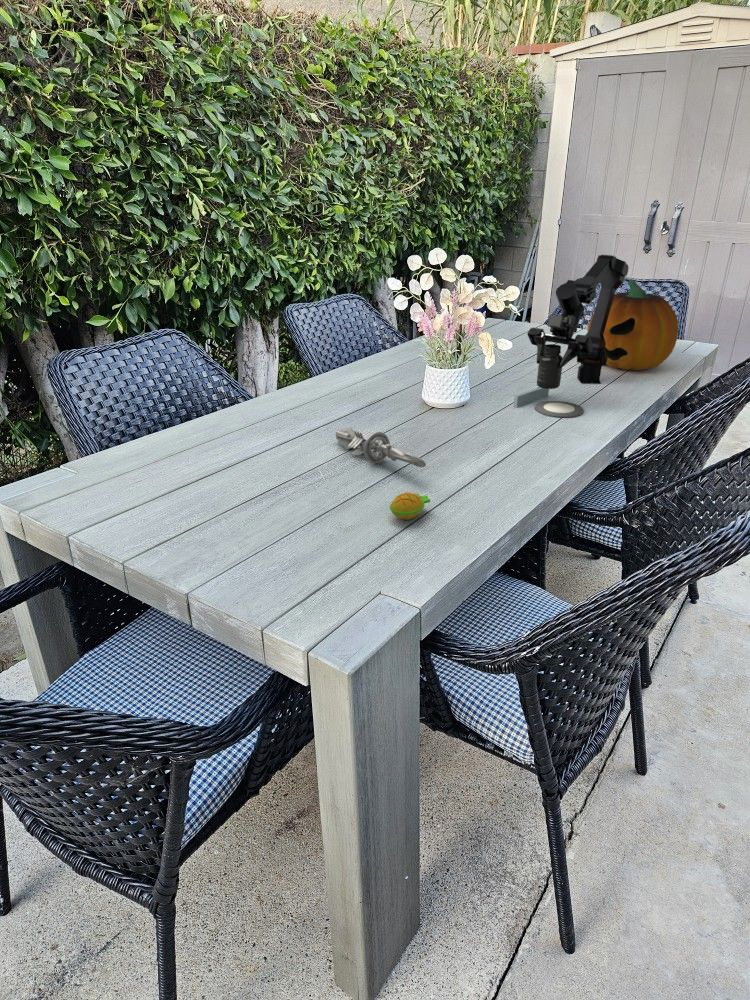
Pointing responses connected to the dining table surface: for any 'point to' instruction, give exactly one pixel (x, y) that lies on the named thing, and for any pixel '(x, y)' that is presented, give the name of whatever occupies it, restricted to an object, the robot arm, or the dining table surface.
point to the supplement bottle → (550, 367)
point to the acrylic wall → (530, 396)
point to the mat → (559, 409)
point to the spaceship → (375, 447)
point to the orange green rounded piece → (408, 505)
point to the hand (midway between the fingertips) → (548, 365)
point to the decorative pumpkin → (639, 330)
